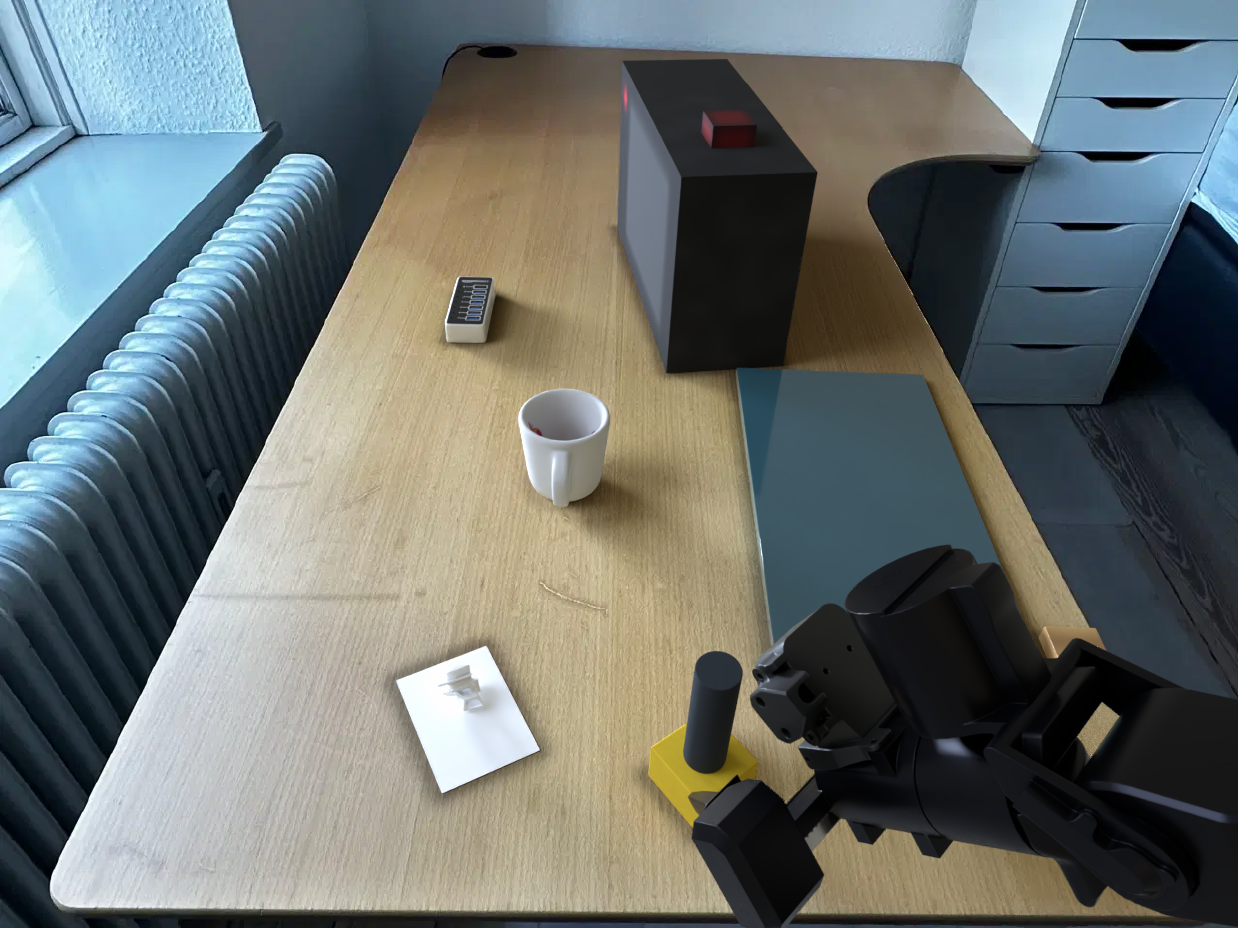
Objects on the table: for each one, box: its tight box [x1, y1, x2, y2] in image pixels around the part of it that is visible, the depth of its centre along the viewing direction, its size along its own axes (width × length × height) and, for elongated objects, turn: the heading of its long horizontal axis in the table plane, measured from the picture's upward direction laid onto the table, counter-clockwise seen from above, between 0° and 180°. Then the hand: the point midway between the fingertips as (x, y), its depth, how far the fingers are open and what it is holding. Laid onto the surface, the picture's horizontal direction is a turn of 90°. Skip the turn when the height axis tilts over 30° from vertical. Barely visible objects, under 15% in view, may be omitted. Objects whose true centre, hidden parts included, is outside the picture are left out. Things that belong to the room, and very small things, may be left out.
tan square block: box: [1038, 625, 1107, 658], centre depth 68 cm, size 4×4×2 cm
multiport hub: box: [444, 276, 497, 344], centre depth 103 cm, size 4×11×2 cm, turn 0°
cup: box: [518, 388, 611, 508], centre depth 79 cm, size 11×8×8 cm
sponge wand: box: [648, 650, 759, 829], centre depth 56 cm, size 5×5×12 cm
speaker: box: [616, 58, 819, 374], centre depth 103 cm, size 15×35×24 cm, turn 9°
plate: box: [735, 367, 1022, 647], centre depth 81 cm, size 38×20×1 cm, turn 179°
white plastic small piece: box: [437, 664, 486, 712], centre depth 63 cm, size 3×3×3 cm
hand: (743, 752), depth 54 cm, fingers open, 9 cm apart
